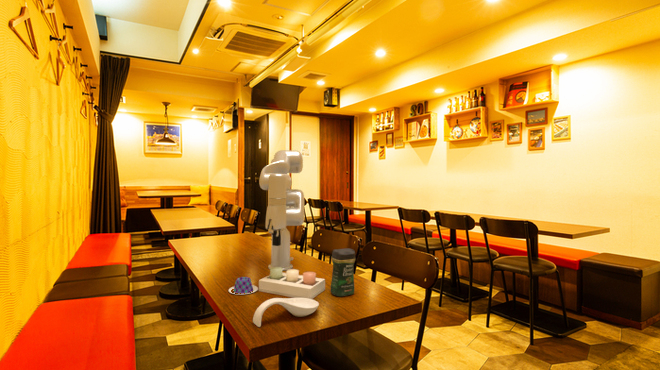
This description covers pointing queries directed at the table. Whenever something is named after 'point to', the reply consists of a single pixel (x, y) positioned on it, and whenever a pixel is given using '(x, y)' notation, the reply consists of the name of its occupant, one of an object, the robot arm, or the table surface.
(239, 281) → the pudding
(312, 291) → the white compartment tray
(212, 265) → the table surface
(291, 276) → the cream button
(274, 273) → the sage button
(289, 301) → the spoon rest
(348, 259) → the coffee jar
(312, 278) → the pink round cup
